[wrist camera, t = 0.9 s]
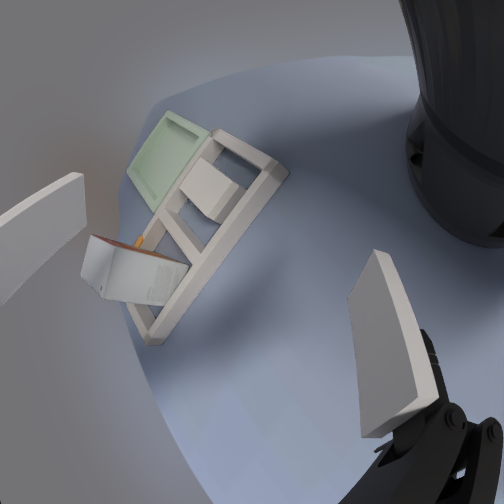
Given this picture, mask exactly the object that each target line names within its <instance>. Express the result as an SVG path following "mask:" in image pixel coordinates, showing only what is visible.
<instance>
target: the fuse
mask: <svg viewBox="0 0 504 504" xmlns="http://www.w3.org/2000/svg"><path fill="white" fill-rule="evenodd" d="M179 188H180V189H181V190H182V191H183V193H184V194H185V195H186V196H187V197H188V198H189V199H190V200H191V201H192V202H193V203H194V204H195V205H196V206H197V207H198V208H199V209H200V210H201V211H202V212H203V213H204V215H205V216H206V217H208V218H210V219H212V220H213V221H215V222H217V223H219V224H221V225H222V224H223V222H224V221H225V219H226V218H227V217H228V215H229V214H230V213H231V211H232V210H233V209H234V207H235V206H236V205H237V203H238V202H239V201H240V199H241V198H242V197H243V195H244V194H245V193H246V191H247V190H246V189H245V188H243V187H242V186H240V185H239V184H238V183H236V182H235V181H234V180H232V179H231V178H230V177H228V176H227V175H226V174H224V173H223V172H222V171H221V170H220V169H218V168H217V167H216V166H214V165H213V164H211V163H210V162H208V161H207V160H204V159H203V158H201V157H200V158H199V160H198V161H197V162H196V164H195V165H194V167H193V168H192V169H191V171H190V172H189V174H188V175H187V176H186V178H185V179H184V181H183V182H182V184H181V185H180V187H179Z"/></svg>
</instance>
